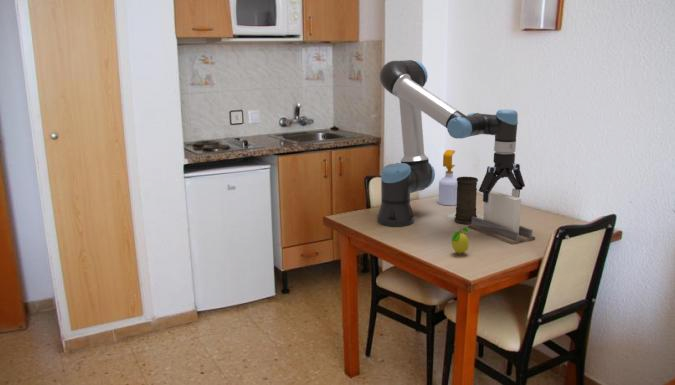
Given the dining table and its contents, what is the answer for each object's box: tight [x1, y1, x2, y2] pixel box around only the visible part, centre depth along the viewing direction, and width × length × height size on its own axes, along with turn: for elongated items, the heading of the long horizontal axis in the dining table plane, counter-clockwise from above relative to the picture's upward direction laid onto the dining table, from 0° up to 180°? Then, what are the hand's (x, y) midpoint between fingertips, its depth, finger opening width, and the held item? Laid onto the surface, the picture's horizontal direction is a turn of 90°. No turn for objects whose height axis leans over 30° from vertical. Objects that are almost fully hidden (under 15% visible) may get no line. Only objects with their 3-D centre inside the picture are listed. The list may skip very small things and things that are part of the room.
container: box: [454, 176, 479, 225], centre depth 226 cm, size 9×9×18 cm
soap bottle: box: [437, 149, 458, 207], centre depth 254 cm, size 9×9×25 cm
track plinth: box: [467, 217, 536, 245], centre depth 211 cm, size 11×24×4 cm, turn 27°
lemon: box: [451, 226, 470, 255], centre depth 189 cm, size 7×6×10 cm
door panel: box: [482, 189, 522, 236], centre depth 210 cm, size 4×16×14 cm, turn 27°
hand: (500, 208), depth 210 cm, fingers open, 13 cm apart
